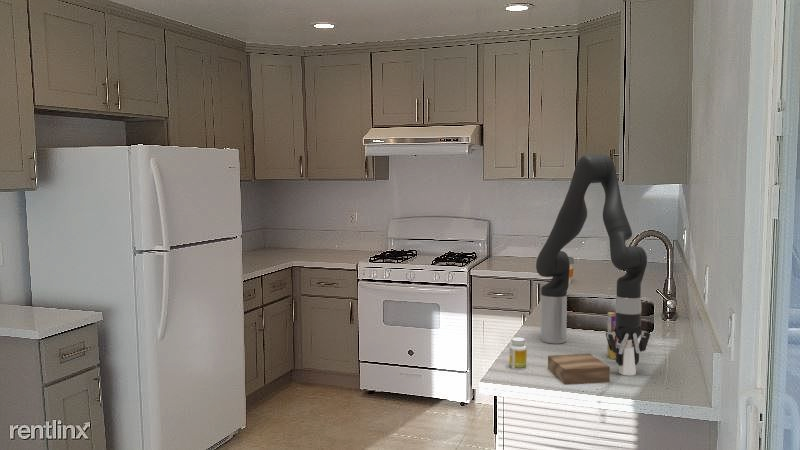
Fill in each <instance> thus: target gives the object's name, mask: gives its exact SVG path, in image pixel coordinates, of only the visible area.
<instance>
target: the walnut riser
mask: <svg viewBox="0 0 800 450" xmlns="http://www.w3.org/2000/svg"><path fill="white" fill-rule="evenodd" d="M548 369H549V370H550V371H551V374H553V375H554V377H556V378H557V379H558V380H559V381H560V382H562V383H563V385H579V384H580V385H581V384H596V383H597V384H599V383H610V377H611V376H610V372H611V371H610V370H611V367H610V366H609V365H608V364H606V363H605V362H603V361H602V360H600V359H599V358H597V357H596V356H594V355H592V353H574V354H573V353H572V354H555V355H547V370H548ZM549 370H548V371H549ZM550 371H549V372H550Z"/></svg>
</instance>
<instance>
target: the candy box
mask: <svg viewBox="0 0 800 450" xmlns="http://www.w3.org/2000/svg"><path fill="white" fill-rule="evenodd" d="M615 327H616V325H615V312H614V311H613V312H612V311H608V312H607V333H611V332H614V330H615ZM617 339H618V338H617V336H616V335H615V339H614V342H615V345H616V346H617V344H616V343H617ZM621 343H622V342H621ZM607 357H608V358H610V359H611V360H616V353H614V352H613V351H611V350H610V348H609V344H608V343H607Z"/></svg>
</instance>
